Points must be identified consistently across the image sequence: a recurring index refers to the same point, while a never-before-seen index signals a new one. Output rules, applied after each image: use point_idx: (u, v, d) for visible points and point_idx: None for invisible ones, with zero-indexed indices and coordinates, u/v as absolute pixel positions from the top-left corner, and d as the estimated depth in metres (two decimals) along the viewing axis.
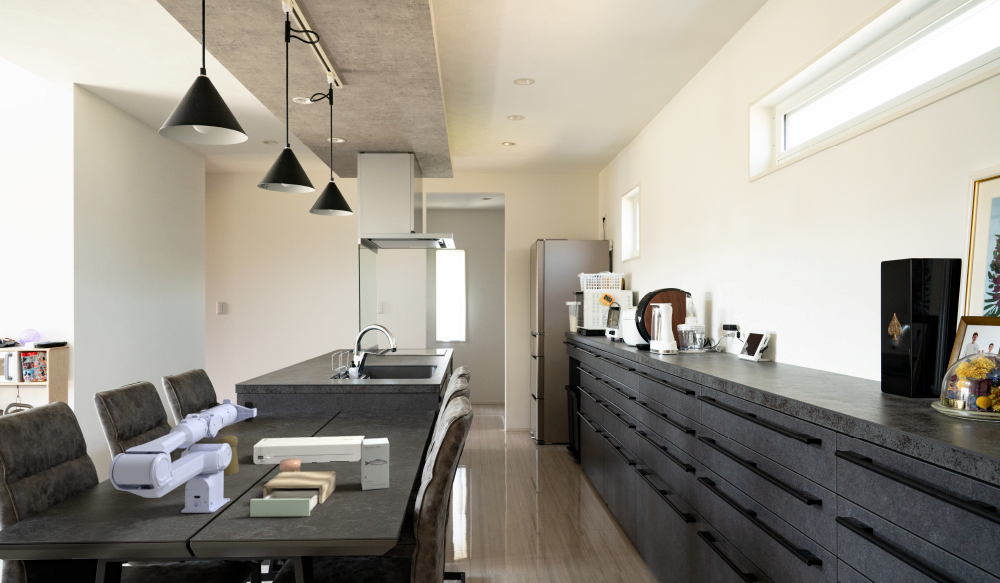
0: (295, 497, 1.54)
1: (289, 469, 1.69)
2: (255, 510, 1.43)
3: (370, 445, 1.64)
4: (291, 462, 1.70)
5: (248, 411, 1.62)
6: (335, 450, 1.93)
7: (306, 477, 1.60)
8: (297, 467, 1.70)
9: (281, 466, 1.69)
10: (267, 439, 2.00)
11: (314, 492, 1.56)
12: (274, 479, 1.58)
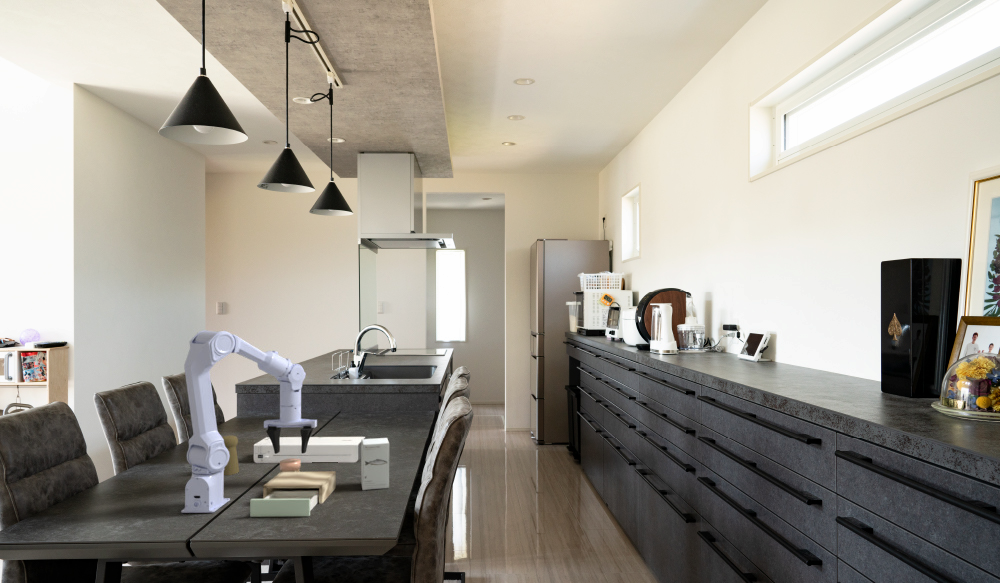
0: (295, 497, 1.54)
1: (289, 469, 1.69)
2: (255, 510, 1.43)
3: (370, 445, 1.64)
4: (291, 462, 1.70)
5: None
6: (333, 451, 1.93)
7: (306, 477, 1.60)
8: (297, 467, 1.70)
9: (281, 466, 1.69)
10: None
11: (314, 492, 1.56)
12: (274, 479, 1.58)
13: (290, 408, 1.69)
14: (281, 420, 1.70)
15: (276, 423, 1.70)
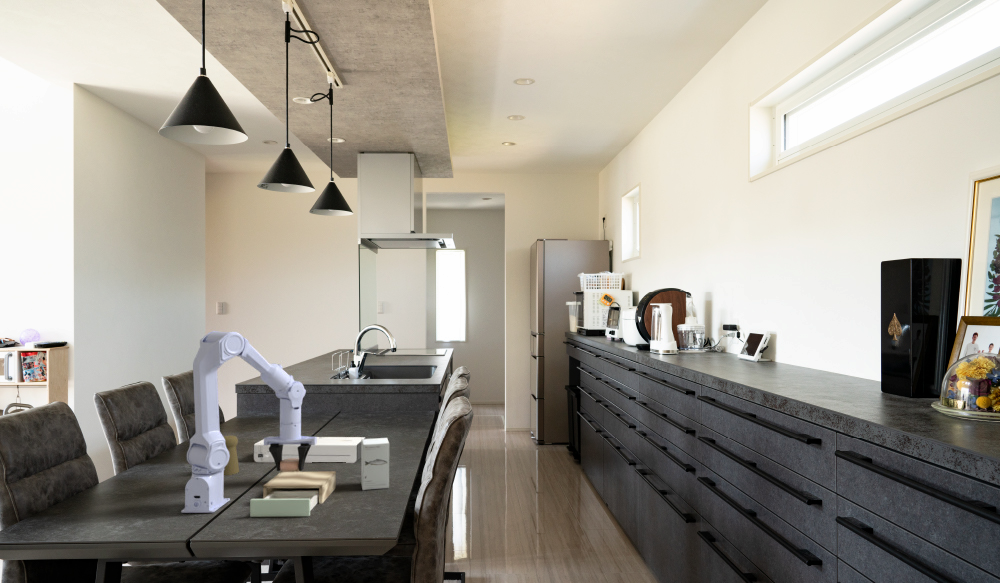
0: (295, 497, 1.54)
1: (289, 469, 1.69)
2: (255, 510, 1.43)
3: (370, 445, 1.64)
4: (291, 462, 1.70)
5: None
6: (332, 451, 1.92)
7: (306, 477, 1.60)
8: (297, 467, 1.70)
9: (281, 466, 1.69)
10: None
11: (314, 492, 1.56)
12: (274, 479, 1.58)
13: (290, 425, 1.69)
14: (281, 437, 1.70)
15: (276, 440, 1.70)
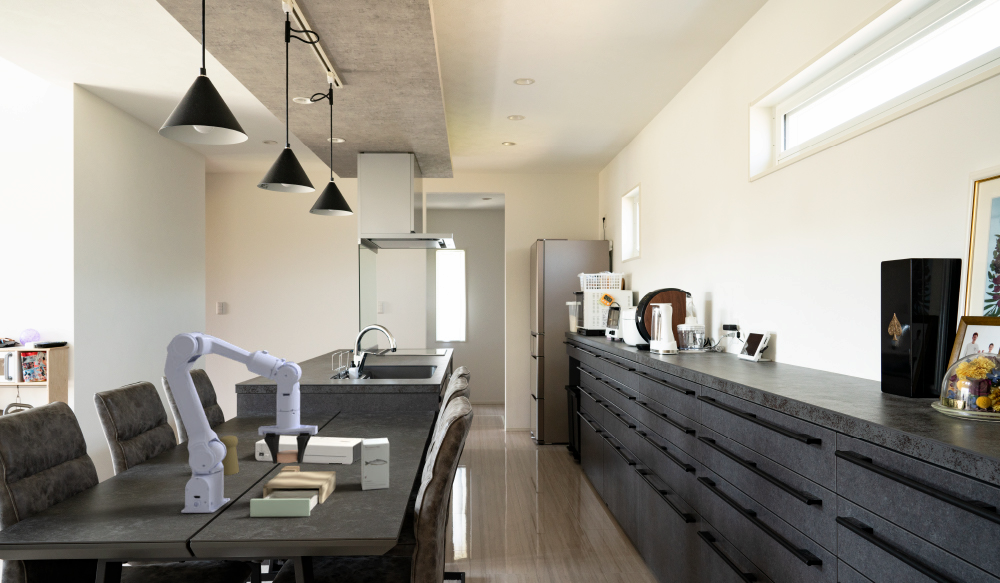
0: (295, 497, 1.54)
1: (288, 461, 1.52)
2: (255, 510, 1.43)
3: (370, 445, 1.64)
4: (290, 453, 1.53)
5: None
6: (329, 452, 1.92)
7: (306, 477, 1.60)
8: None
9: (279, 458, 1.52)
10: None
11: (314, 492, 1.56)
12: (274, 479, 1.58)
13: (288, 413, 1.52)
14: (278, 426, 1.52)
15: (272, 430, 1.52)
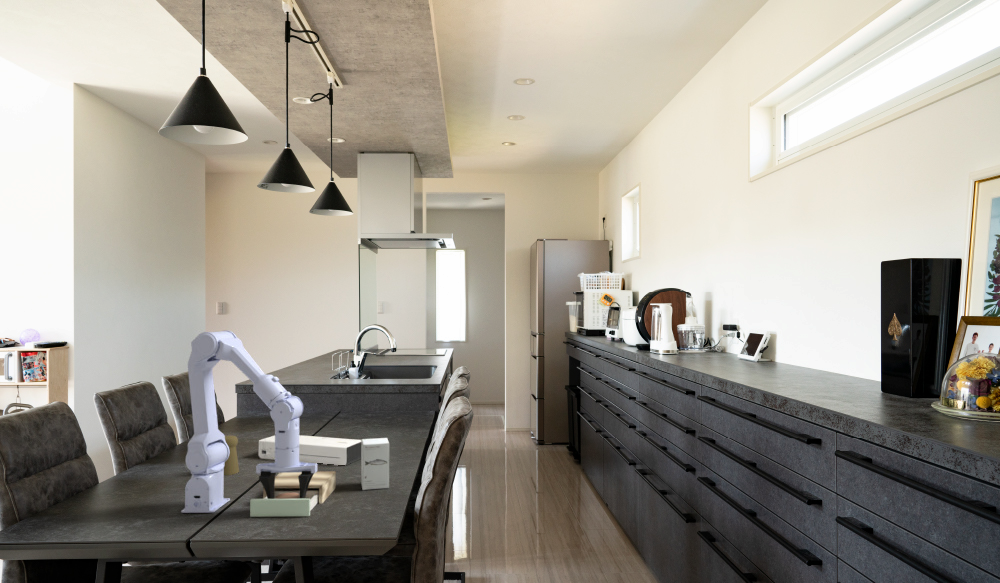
0: None
1: None
2: (255, 510, 1.43)
3: (370, 445, 1.64)
4: (289, 498, 1.47)
5: None
6: (324, 452, 1.91)
7: None
8: None
9: None
10: None
11: (314, 492, 1.56)
12: None
13: (286, 451, 1.46)
14: (276, 465, 1.46)
15: (270, 468, 1.46)
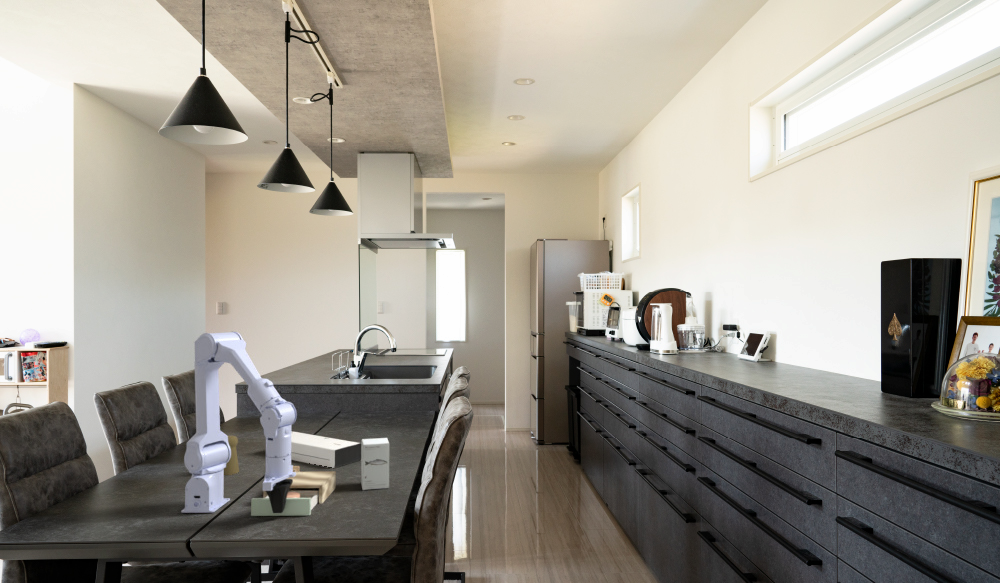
0: None
1: None
2: (256, 509, 1.44)
3: (370, 445, 1.64)
4: (289, 497, 1.48)
5: (271, 482, 1.37)
6: (317, 453, 1.90)
7: (306, 477, 1.60)
8: None
9: None
10: (291, 432, 2.10)
11: (315, 491, 1.56)
12: None
13: None
14: None
15: None
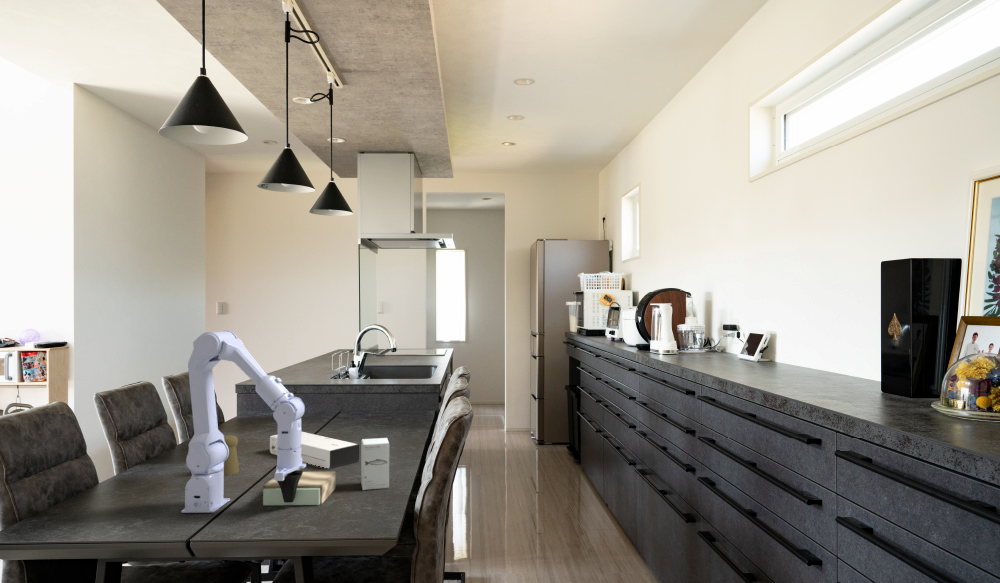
0: None
1: None
2: (268, 499, 1.51)
3: (370, 445, 1.64)
4: None
5: (283, 472, 1.45)
6: (314, 453, 1.89)
7: (306, 477, 1.60)
8: None
9: None
10: None
11: None
12: (274, 479, 1.58)
13: (277, 450, 1.49)
14: None
15: None
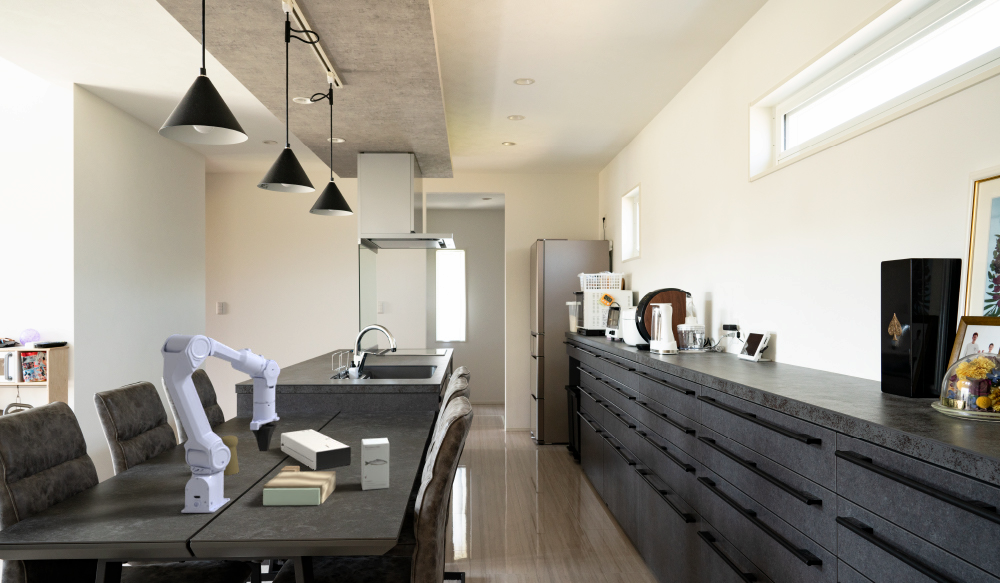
0: None
1: None
2: (268, 499, 1.51)
3: (370, 445, 1.64)
4: None
5: (257, 423, 1.62)
6: (306, 454, 1.89)
7: (306, 477, 1.60)
8: None
9: None
10: (308, 430, 2.13)
11: None
12: (274, 479, 1.58)
13: (253, 404, 1.67)
14: None
15: None
